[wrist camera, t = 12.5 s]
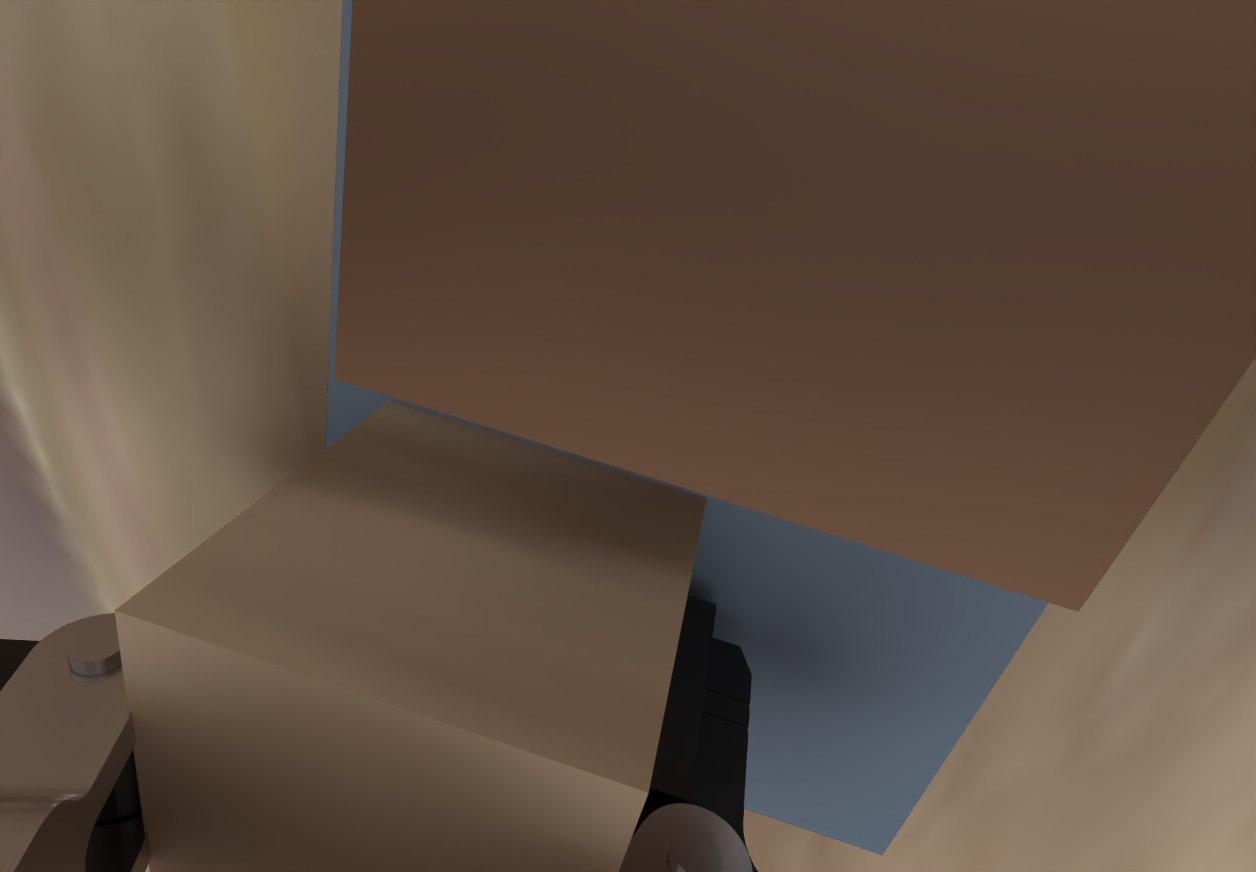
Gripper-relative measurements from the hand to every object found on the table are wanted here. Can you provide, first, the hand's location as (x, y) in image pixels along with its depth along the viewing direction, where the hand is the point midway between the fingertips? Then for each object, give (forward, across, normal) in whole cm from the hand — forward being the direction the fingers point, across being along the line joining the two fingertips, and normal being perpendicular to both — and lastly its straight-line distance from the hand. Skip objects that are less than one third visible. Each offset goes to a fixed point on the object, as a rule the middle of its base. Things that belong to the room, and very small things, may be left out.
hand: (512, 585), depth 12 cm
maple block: (0, 0, 0) cm, 0 cm away
